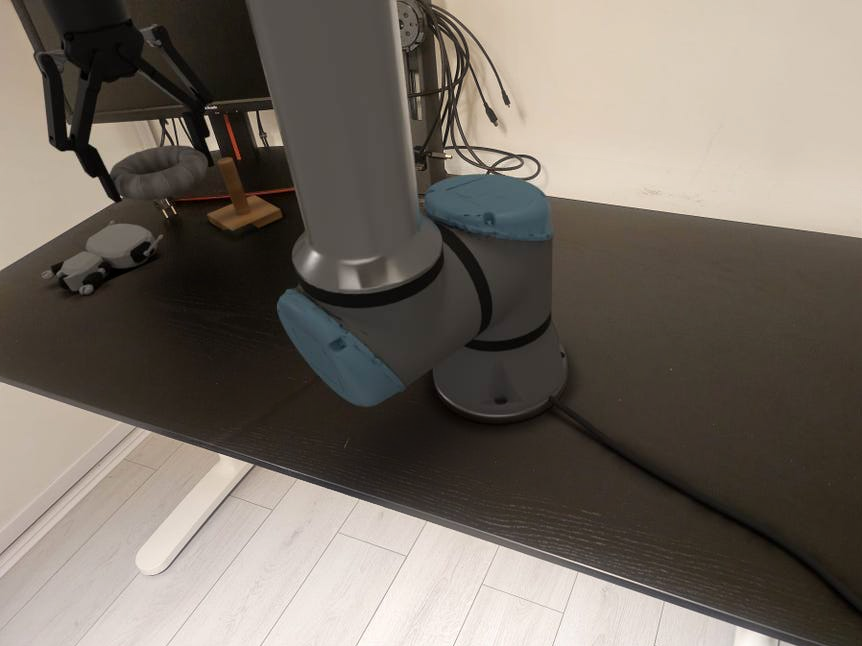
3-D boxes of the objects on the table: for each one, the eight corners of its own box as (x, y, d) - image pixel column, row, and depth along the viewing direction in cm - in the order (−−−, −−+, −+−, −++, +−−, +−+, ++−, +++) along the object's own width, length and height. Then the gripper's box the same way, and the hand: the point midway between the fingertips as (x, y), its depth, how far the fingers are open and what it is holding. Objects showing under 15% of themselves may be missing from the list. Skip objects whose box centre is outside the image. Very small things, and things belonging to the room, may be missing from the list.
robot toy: (96, 311, 88) (177, 253, 97) (78, 286, 85) (163, 229, 93) (47, 291, 93) (128, 238, 102) (28, 267, 90) (113, 214, 98)
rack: (282, 217, 104) (264, 157, 97) (235, 238, 99) (211, 177, 93) (256, 202, 109) (236, 144, 102) (209, 222, 105) (186, 163, 98)
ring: (227, 178, 78) (219, 155, 76) (138, 213, 72) (126, 190, 70) (186, 156, 84) (178, 134, 82) (101, 187, 78) (90, 165, 76)
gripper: (170, -39, 72) (232, 142, 86) (-63, 5, 60) (55, 208, 74) (200, -35, 68) (260, 155, 82) (-44, 14, 56) (77, 227, 70)
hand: (163, 180), depth 78 cm, fingers closed on ring, 12 cm apart
